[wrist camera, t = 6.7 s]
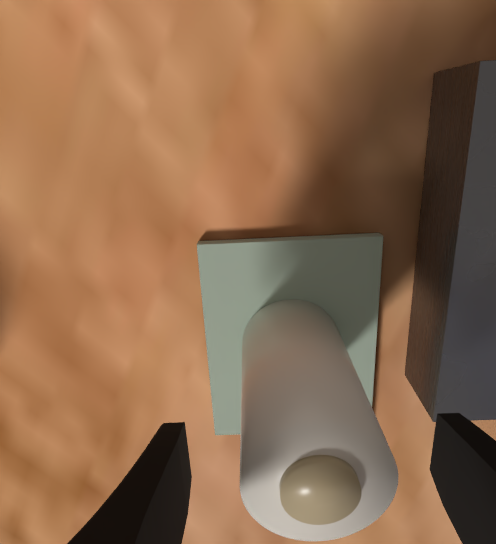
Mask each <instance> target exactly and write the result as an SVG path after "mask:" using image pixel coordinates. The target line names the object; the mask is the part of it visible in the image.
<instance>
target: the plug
mask: <svg viewBox="0 0 496 544" xmlns="http://www.w3.org/2000/svg"><path fill="white" fill-rule="evenodd" d="M397 485H398V470H397V466H396V462H395V459H394V457H393V455H392V453H391V450H390V448H389V446H388V443H387V441H386V439H385V437H384V434H383V432H382V430H381V427H380V425H379V423H378V420H377V418H376V416H375V414H374V411H373V409H372V407H371V404H370V402H369V400H368V397H367V395H366V393H365V391H364V388H363V386H362V384H361V381H360V379H359V377H358V374H357V372H356V370H355V368H354V365H353V363H352V361H351V358H350V356H349V354H348V352H347V349H346V347H345V345H344V342H343V340H342V338H341V335H340V333H339V331H338V329H337V326H336V324H335V322H334V320H333V319H332V318H331V316H330V315H329V314H328V313H327V312H326V311H325V310H324V309H322V308H321V307H319V306H317V305H316V304H313V303H311V302H308V301H304V300H298V299H288V300H281V301H277V302H274V303H271V304H269V305H267V306H265V307H264V308H262V309H260V310H259V311H258V312H257V313H256V314H255V315H254V316H253V317H252V318H251V319H250V321H249V322H248V324H247V326H246V328H245V330H244V333H243V338H242V383H241V448H240V492H241V497H242V500H243V503H244V505H245V507H246V509H247V511H248V512H249V513H250V515H251V516H252V517H253V518H254V519H255V520H256V521H257V522H258V523H259V524H261V525H262V526H263V527H265V528H266V529H268V530H270V531H271V532H274V533H276V534H278V535H281V536H284V537H287V538H291V539H295V540H302V541H327V540H333V539H338V538H341V537H345V536H348V535H351V534H353V533H356V532H358V531H360V530H362V529H364V528H365V527H367V526H369V525H370V524H372V523H373V522H374V521H375V520H377V519H378V518H379V517H380V516H381V515H382V514H383V513H384V512H385V510H386V509H387V508H388V507H389V505H390V503H391V502H392V500H393V498H394V496H395V493H396V490H397Z"/></svg>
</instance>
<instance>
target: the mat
mask: <svg viewBox="0 0 496 544" xmlns="http://www.w3.org/2000/svg"><path fill="white" fill-rule="evenodd" d="M382 249H383V235H381V234H380V233H363V234H341V235H320V236H298V237H276V238H255V239H233V240H212V241H198V243H197V252H198V262H199V272H200V283H201V293H202V303H203V314H204V324H205V334H206V345H207V355H208V365H209V376H210V386H211V396H212V407H213V417H214V427H215V435H234V434H241V383H242V338H243V333H244V330H245V328H246V326H247V324H248V322H249V321H250V319H251V318H252V317H253V316H254V315H255V314H256V313H257V312H258V311H259V310H260V309H262V308H264V307H265V306H267V305H269V304H271V303H274V302H277V301H281V300H288V299H298V300H304V301H308V302H311V303H313V304H316V305H317V306H319V307H321V308H322V309H324V310H325V311H326V312H327V313H328V314H329V315H330V316H331V318H332V319H333V320H334V322H335V324H336V326H337V329H338V331H339V333H340V335H341V338H342V340H343V342H344V345H345V347H346V349H347V352H348V354H349V356H350V358H351V361H352V363H353V365H354V368H355V370H356V372H357V374H358V377H359V379H360V381H361V384H362V386H363V388H364V391H365V393H366V395H367V397H368V400H369V402H370V404H371V407H372V399H373V384H374V369H375V354H376V339H377V324H378V309H379V294H380V279H381V264H382Z"/></svg>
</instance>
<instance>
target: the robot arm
mask: <svg viewBox="0 0 496 544" xmlns="http://www.w3.org/2000/svg"><path fill="white" fill-rule="evenodd" d="M430 471H431V474H432V477H433V480H434V482H435V485H436V488H437V491H438V493H439V496H440V498H441V501H442V503H443V506H444V508H445V510H446V512H447V514H448V516H449V518H450V520H451V522H452V524H453V526H454V528H455V530H456V532H457V534H458V536H459V538H460V540H461V542H462V543H463V544H496V441H495V440H494V439H493V438H491V437H490V436H489V435H488V434H486V433H485V432H484V431H482V430H481V429H480V428H479V427H477V426H476V425H475V424H473V423H472V422H471V421H470V420H468V419H467V418H466V417H464V416H463V415H461V414H460V413H438V414H437V419H436V427H435V434H434V442H433V449H432V456H431V464H430ZM191 478H192V476H191V468H190V460H189V453H188V445H187V437H186V429H185V422H181V423H163V424H162V425H161V426H160V428H159V429H158V431H157V432H156V434H155V435H154V437H153V438H152V440H151V441H150V443H149V444H148V446H147V447H146V449H145V450H144V452H143V453H142V454H141V456H140V457H139V459H138V460H137V462H136V463H135V464H134V466H133V467H132V468H131V470H130V471H129V472H128V474H127V475H126V476H125V478H124V479H123V480H122V482H121V483H120V484H119V485H118V487H117V488H116V489H115V490H114V492H113V493H112V494H111V495H110V496H109V498H108V499H107V500H106V501H105V502H104V504H103V505H102V506H101V507H100V509H99V510H98V511H97V512H96V513H95V514H94V515H93V517H92V518H91V519H90V520H89V521H88V522H87V523H86V524H85V525H84V527H83V528H82V529H81V530H80V531H79V532H78V533H77V534H76V535H75V536H74V537H73V538H72V539H71V540H70V541H69V542H68V543H67V544H181V543H182V538H183V534H184V529H185V524H186V519H187V515H188V506H189V498H190V488H191Z"/></svg>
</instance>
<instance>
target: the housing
mask: <svg viewBox="0 0 496 544" xmlns="http://www.w3.org/2000/svg"><path fill="white" fill-rule="evenodd" d="M405 376H406V378H407V379H408V381H409V383H410V384H411V386H412V388H413V389H414V391H415V392H416V394H417V396H418V397H419V399H420V401H421V402H422V404H423V406H424V407H425V409H426V411H427V412H428V414H429V416H430V417H431V419H432V421H433V422H436V419H437V414H438V413H460V414H461V415H463V416H464V417H466V418H467V419H468V420H496V60H492V61H479V62H475V63H471V64H467V65H463V66H459V67H455V68H451V69H447V70H443V71H439V72H435V73H434V78H433V88H432V99H431V109H430V119H429V130H428V140H427V150H426V161H425V171H424V181H423V192H422V202H421V212H420V223H419V233H418V243H417V254H416V264H415V274H414V285H413V295H412V305H411V316H410V326H409V336H408V347H407V357H406V367H405Z"/></svg>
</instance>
